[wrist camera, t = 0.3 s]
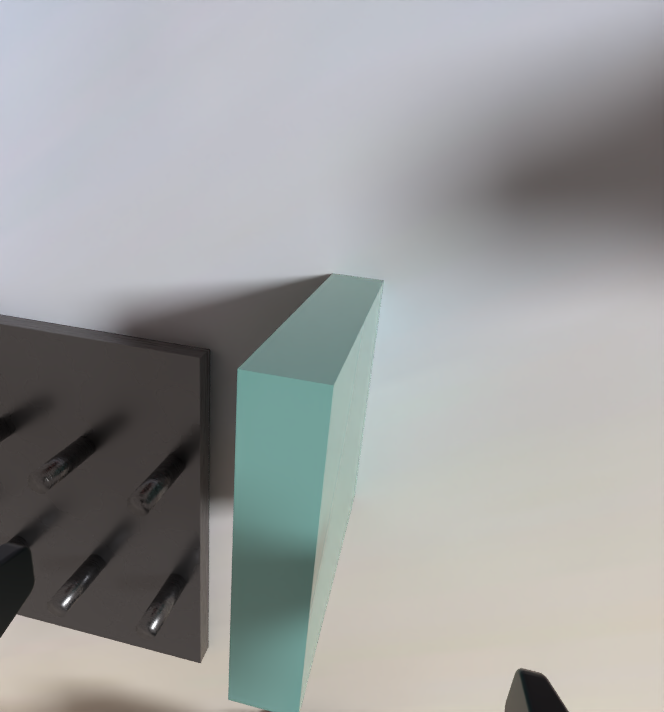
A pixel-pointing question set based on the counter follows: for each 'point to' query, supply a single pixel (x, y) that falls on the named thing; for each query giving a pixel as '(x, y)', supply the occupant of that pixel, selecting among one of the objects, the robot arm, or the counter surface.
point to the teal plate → (296, 484)
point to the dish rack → (108, 481)
